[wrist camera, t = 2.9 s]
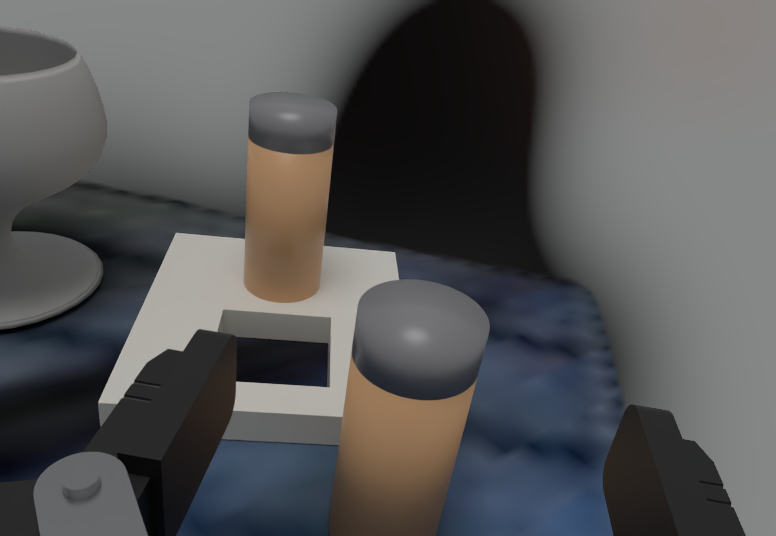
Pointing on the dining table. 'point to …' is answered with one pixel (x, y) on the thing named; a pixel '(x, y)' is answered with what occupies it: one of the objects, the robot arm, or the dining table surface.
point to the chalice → (44, 171)
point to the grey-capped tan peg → (405, 407)
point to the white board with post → (266, 279)
